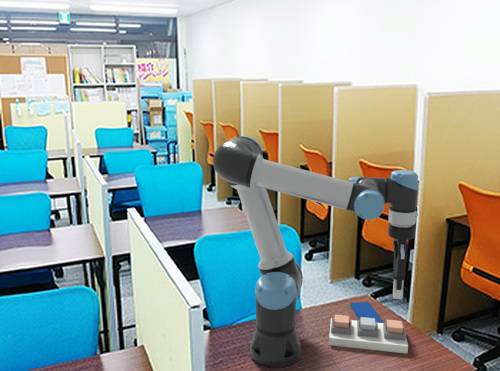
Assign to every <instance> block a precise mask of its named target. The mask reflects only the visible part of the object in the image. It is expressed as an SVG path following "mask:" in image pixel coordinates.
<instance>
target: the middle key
mask: <svg viewBox="0 0 500 371" xmlns="http://www.w3.org/2000/svg"><path fill="white" fill-rule="evenodd" d="M375 327H376V325H375V318H365V317H361V318H360V330H369V331H375Z"/></svg>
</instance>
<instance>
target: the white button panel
mask: <svg viewBox="0 0 500 371" xmlns="http://www.w3.org/2000/svg"><path fill="white" fill-rule="evenodd" d="M334 320H335V317H331V318H330V324H329V327H330V328H329V337H328V345H329V346H333V347H335V346H336V347H342V348H351V349H353V348H354V349H361V350H362V349H363V350H372V351H380V352H388V353H397V354H398V353H400V354H408V350H409V344H408V340H407V333H406V328H405V325H404V324H402V326H403V334H399V333H389V332H387V326H386V324H387V322H383V323H377V322H375V325H376V327H375V331H369V330H360V320H359V319H357V320H353V319H350V318H349V328H339V327H334Z"/></svg>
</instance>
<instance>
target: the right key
mask: <svg viewBox="0 0 500 371" xmlns="http://www.w3.org/2000/svg"><path fill="white" fill-rule="evenodd" d="M386 323H387V324H386V326H387V332H389V333H399V334H403V326H402V325H403V322H402V321H401V320H398V319H397V320H394V319H386Z"/></svg>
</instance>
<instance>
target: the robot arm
mask: <svg viewBox="0 0 500 371" xmlns="http://www.w3.org/2000/svg"><path fill="white" fill-rule="evenodd" d="M263 154H264V153H263V149H262V147H261V145H260V143H259V142H258V141H257V140H256V139H255V138H252V137H250V136H247V135H239V136H234V137H233V138H230V139H229V140H227V141H226V142H223V143H222V144H220V145H219V146H218V147H217V149H216V150H215V151H214V154H213V158H212V160H213V161H212V166H213V168H214V170H215V172H216V174H217V175H218V177H220V178H221V179H223V181H226V182H228V183H229V185H230V187H232V188H234V189H235V190H237V194H238V196H239V199H240V202H241V205H242V209H243V211H244V215H245V217H246V221H247V223H248V226H249V228H250V232H251V234H252V237H253V241H254V244H255V246H256V249H257V251H258V256H259V258H260V260H259V263H258V264H257V266H258V267H257V268H258V269H259V273H260V277H259V278H258V280H257V281H256V283H255V289H254V294H255V329H254V333H253V336H252V339H251V342H250V346H249V347H250V350H249V353H250V356H251V358H252V359H253V361H255V362H256V363H257V364H259V365H262V366H265V367H269V368H285V367H288V366H291V365H293V364H296V362H297V361H299V359H300V358H301V355H302V354H301V353H302V347H301V341H300V339H299V336H298V333H297V330H296V319H297V318H296V316H297V313H296V312H297V310H296V308H297V304H298V303H297V301H298V299H299V298H298V297H299V295H300V290H301V289H302V285H303V282H304V281H303V278H304V277H303V270H302V268H301V266H300V264H299V263H298V262H297V261H296V260H295V256H294V255H293V253H291V252H289V251H288V250H287V248H286V246H285V242H284V239H283V236H282V233H281V230H280V227H279V224H278V220H277V218H276V215H275V211H274V208H273V206H272V203H271V200H270V196H269V193H268V191H267V190H271V191H274V192H278V193H282V194H284V195H285V194H286V195H289V196H293V197H296V198H300V199H305V200H307V201H312V202H316V203H319V204H323V205H327V206H331V207H334V208H337V209H341V210H346V211H348V212H353V213H355V214H356V215H357V216H358V217H359V218H361V219H363V220H365V221H366V220H367V221H372V220H375V219H378V218H379V217H380V216H381V215H382V213H383V212H384V208H385V205H387V204H388V205H389V208H388V220H387V221H388V222H389V223H388V225H387V226H388V229H387V234H388V237H390V238H391V239H393V243H392V245H393V276H392V278H391V279H392V280H393V286H392V287H393V288H392V298H393V299H394V300H395V299H396V300H403V298H404V284H405V283H404V282H405V280H406V270H407V269H406V268H407V260H408V251H409V243H408V241H409V240H413V239H414V238H415V237H416V225H415V224H416V221H417V218H416V217H419V213H418V212H417V208H418V206H417V205H418V195H419V194H418V193H419V175H418V174H417V172H415V171H413V170H408V169H407V170H406V169H400V170H399V169H397V170H393V171H391V174H390V176H389V177H371V176H369V177H368V176H367V177H364V176H352V177H349V178H348V181H347V180H344V179H339V178H336V177H332V176H328V175H326V174H325V175H324V174H321V173H317V172H313V171H310V170H306V169H302V168H298V167H295V166H290V165H286V164H284V163H279V162H275V161H271V160H268V159H264V155H263Z"/></svg>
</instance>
